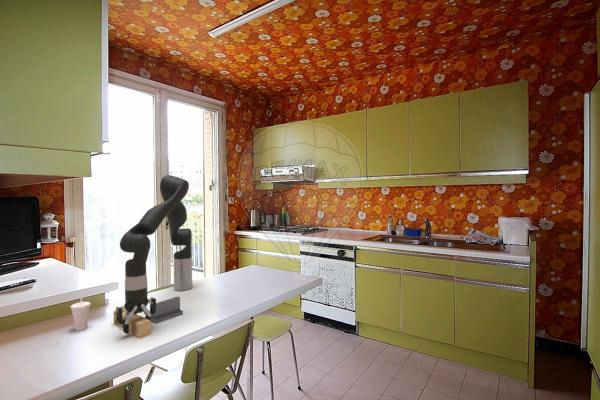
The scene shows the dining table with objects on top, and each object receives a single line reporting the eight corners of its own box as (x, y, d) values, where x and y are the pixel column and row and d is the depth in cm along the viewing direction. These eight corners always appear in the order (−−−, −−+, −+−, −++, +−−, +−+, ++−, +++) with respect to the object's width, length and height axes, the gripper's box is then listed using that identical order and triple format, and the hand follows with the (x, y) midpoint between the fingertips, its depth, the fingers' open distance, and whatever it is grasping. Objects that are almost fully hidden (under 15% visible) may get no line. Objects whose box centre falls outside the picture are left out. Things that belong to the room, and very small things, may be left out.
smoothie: (78, 333, 116) (77, 297, 115) (67, 331, 118) (66, 295, 118) (95, 326, 122) (94, 291, 121) (83, 324, 124) (82, 290, 124)
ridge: (148, 320, 127) (148, 303, 127) (175, 311, 137) (175, 295, 137) (155, 323, 124) (155, 306, 124) (182, 314, 133) (182, 298, 133)
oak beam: (113, 324, 124) (113, 311, 124) (124, 321, 128) (123, 307, 127) (139, 339, 111) (139, 324, 111) (150, 335, 114) (150, 320, 114)
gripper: (150, 280, 124) (151, 320, 124) (111, 289, 112) (112, 333, 113) (159, 283, 119) (160, 325, 119) (119, 293, 108) (121, 339, 108)
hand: (137, 329), depth 116 cm, fingers open, 7 cm apart
